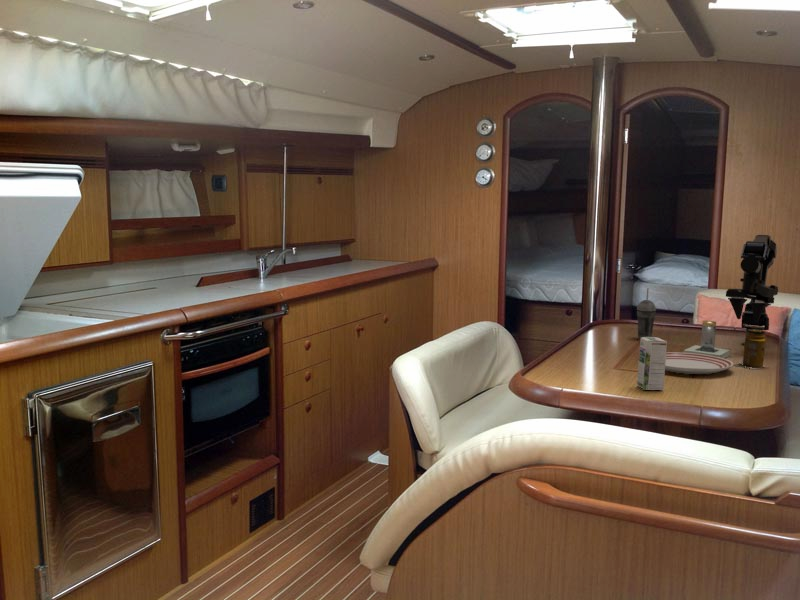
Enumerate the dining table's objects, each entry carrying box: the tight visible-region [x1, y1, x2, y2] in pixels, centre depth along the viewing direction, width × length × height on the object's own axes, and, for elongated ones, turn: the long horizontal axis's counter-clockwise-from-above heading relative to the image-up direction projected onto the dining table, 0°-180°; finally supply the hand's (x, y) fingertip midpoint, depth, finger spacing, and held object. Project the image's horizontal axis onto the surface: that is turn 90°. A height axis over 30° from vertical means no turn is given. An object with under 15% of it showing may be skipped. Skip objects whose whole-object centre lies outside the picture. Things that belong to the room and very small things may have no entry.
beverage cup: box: [636, 288, 657, 341], centre depth 282 cm, size 7×7×20 cm
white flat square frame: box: [683, 344, 731, 359], centre depth 256 cm, size 12×12×2 cm
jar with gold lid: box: [700, 320, 717, 353], centre depth 256 cm, size 4×4×12 cm
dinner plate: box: [665, 351, 734, 375], centre depth 236 cm, size 27×27×3 cm
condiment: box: [733, 329, 769, 370], centre depth 240 cm, size 7×8×12 cm
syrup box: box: [636, 336, 668, 391], centre depth 209 cm, size 6×6×14 cm
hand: (747, 320), depth 259 cm, fingers open, 9 cm apart
